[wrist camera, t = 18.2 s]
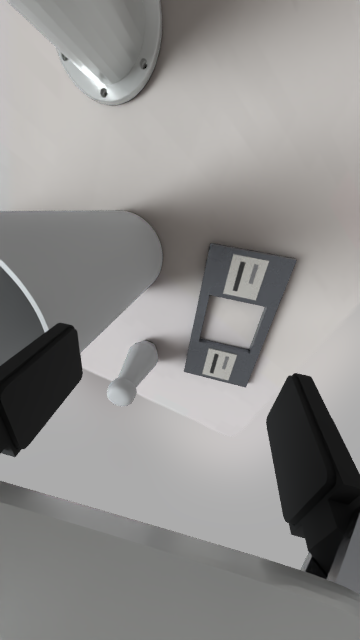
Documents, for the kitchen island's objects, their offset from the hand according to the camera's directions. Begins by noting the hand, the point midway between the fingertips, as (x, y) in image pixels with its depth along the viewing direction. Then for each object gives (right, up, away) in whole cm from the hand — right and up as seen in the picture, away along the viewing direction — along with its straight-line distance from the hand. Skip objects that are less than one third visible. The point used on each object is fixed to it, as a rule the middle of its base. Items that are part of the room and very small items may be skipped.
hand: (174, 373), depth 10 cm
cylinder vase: (-8, +13, +26) cm, 30 cm away
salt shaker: (-6, -3, +34) cm, 34 cm away
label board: (+9, +2, +28) cm, 29 cm away
